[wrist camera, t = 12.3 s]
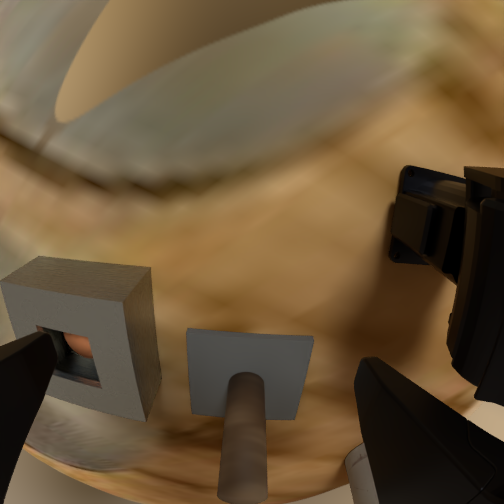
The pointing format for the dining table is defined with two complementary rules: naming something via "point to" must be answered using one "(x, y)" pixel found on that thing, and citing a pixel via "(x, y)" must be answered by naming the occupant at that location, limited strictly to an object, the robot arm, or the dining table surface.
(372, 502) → the thermos bottle
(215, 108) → the dining table surface
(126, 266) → the plate
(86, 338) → the orange rounded dome
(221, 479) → the brown cylinder rod
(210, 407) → the pad
